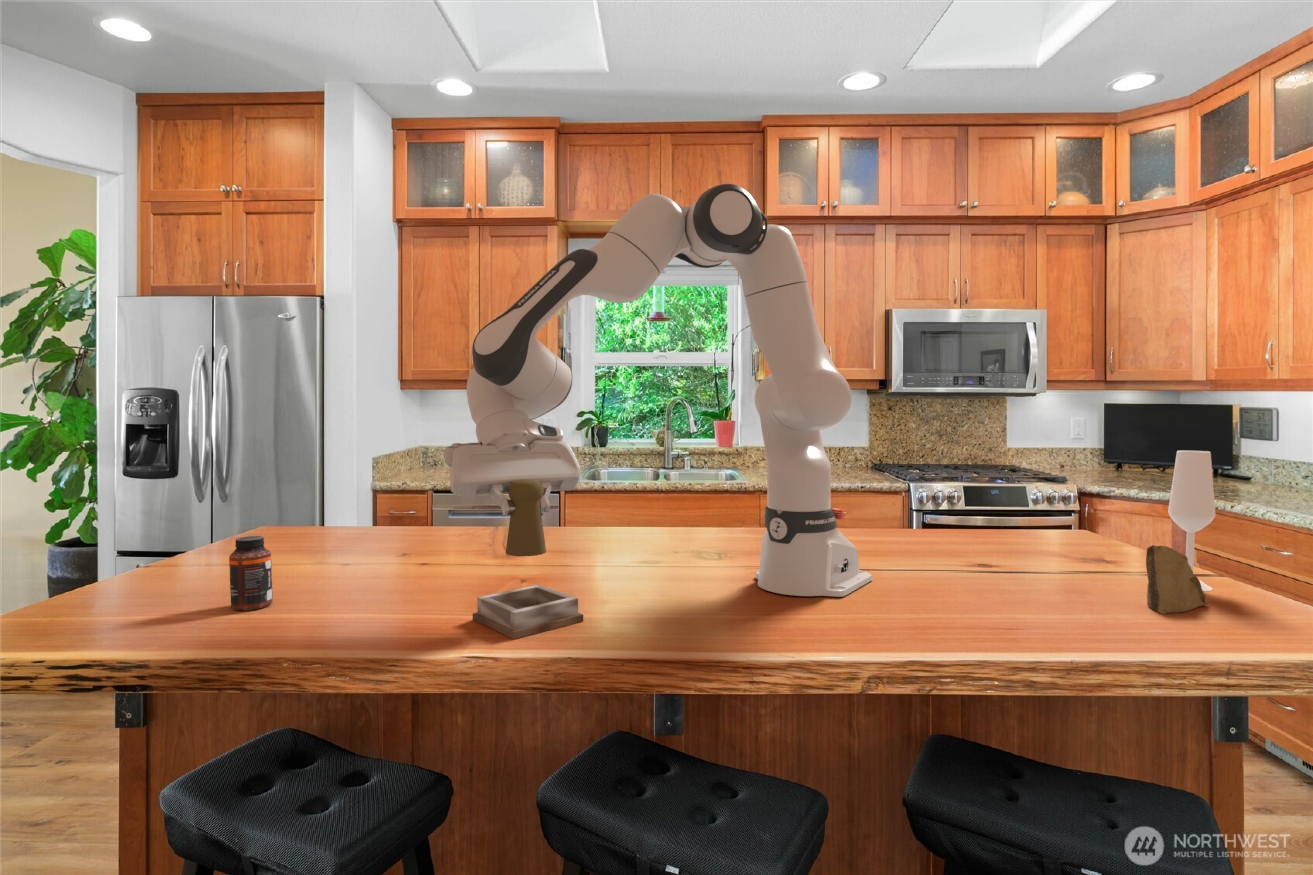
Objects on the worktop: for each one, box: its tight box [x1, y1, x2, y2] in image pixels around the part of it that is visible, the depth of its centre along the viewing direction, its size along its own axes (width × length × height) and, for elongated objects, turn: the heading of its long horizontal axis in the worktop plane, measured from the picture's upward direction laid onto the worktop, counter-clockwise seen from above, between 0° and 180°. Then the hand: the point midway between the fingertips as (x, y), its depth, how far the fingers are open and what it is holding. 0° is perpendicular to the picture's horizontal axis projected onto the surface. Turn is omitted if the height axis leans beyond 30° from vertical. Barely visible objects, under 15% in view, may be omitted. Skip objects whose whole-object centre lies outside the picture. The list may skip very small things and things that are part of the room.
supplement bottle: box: [228, 535, 273, 611], centre depth 115 cm, size 6×6×11 cm
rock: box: [1145, 544, 1209, 615], centre depth 112 cm, size 11×9×10 cm
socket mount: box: [472, 584, 584, 640], centre depth 107 cm, size 12×12×4 cm
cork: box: [505, 479, 547, 557], centre depth 106 cm, size 6×6×11 cm
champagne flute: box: [1167, 450, 1217, 592], centre depth 125 cm, size 7×7×24 cm
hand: (527, 511), depth 106 cm, fingers closed on cork, 4 cm apart
